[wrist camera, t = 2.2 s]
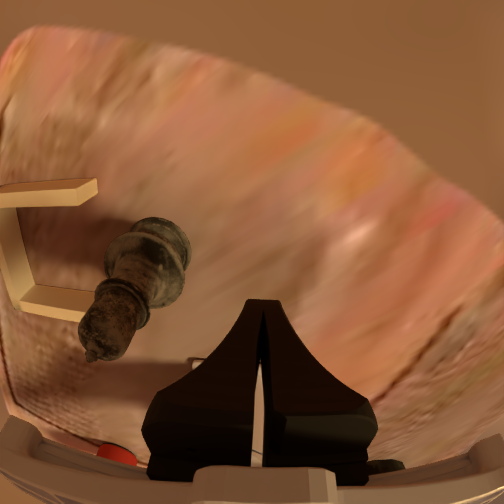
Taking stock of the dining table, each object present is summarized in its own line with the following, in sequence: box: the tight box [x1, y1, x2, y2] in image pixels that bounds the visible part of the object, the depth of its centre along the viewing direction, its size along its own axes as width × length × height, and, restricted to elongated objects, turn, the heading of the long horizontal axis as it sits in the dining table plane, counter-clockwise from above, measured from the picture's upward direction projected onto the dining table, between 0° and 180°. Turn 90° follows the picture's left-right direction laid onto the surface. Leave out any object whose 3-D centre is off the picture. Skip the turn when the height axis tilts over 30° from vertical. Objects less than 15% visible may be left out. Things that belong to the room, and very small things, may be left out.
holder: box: [0, 178, 98, 322], centre depth 22 cm, size 11×11×3 cm
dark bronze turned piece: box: [78, 217, 191, 363], centre depth 18 cm, size 6×6×12 cm
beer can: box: [97, 444, 137, 466], centre depth 34 cm, size 7×7×12 cm
